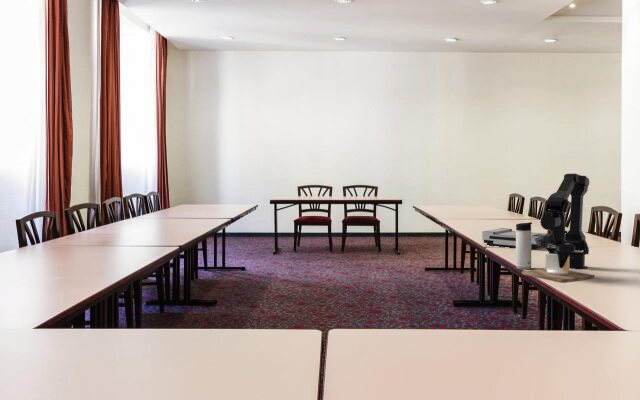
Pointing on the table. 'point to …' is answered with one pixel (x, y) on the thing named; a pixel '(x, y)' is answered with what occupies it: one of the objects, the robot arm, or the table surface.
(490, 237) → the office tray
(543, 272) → the base plate
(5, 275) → the table surface
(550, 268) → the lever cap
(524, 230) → the travel mug
